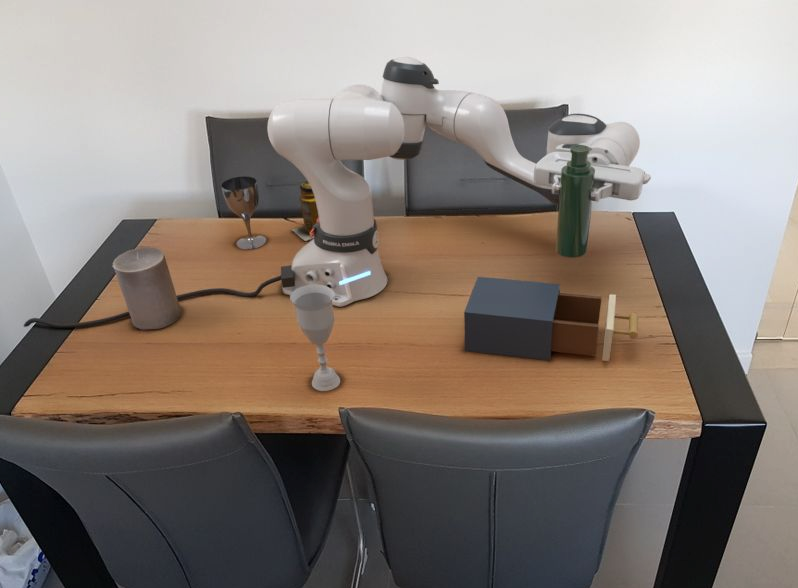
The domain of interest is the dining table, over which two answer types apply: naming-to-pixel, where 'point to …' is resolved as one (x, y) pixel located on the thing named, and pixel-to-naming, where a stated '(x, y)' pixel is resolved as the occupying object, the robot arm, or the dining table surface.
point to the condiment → (307, 211)
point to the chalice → (317, 327)
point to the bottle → (575, 204)
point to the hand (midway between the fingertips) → (574, 193)
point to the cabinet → (511, 317)
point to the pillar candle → (147, 288)
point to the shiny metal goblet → (243, 206)
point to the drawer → (586, 324)
